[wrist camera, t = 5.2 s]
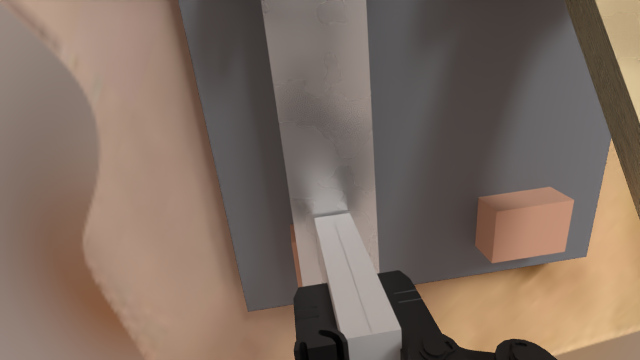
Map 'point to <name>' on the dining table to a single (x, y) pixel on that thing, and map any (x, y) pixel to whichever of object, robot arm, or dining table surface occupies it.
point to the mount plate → (418, 138)
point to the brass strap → (614, 73)
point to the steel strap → (324, 117)
